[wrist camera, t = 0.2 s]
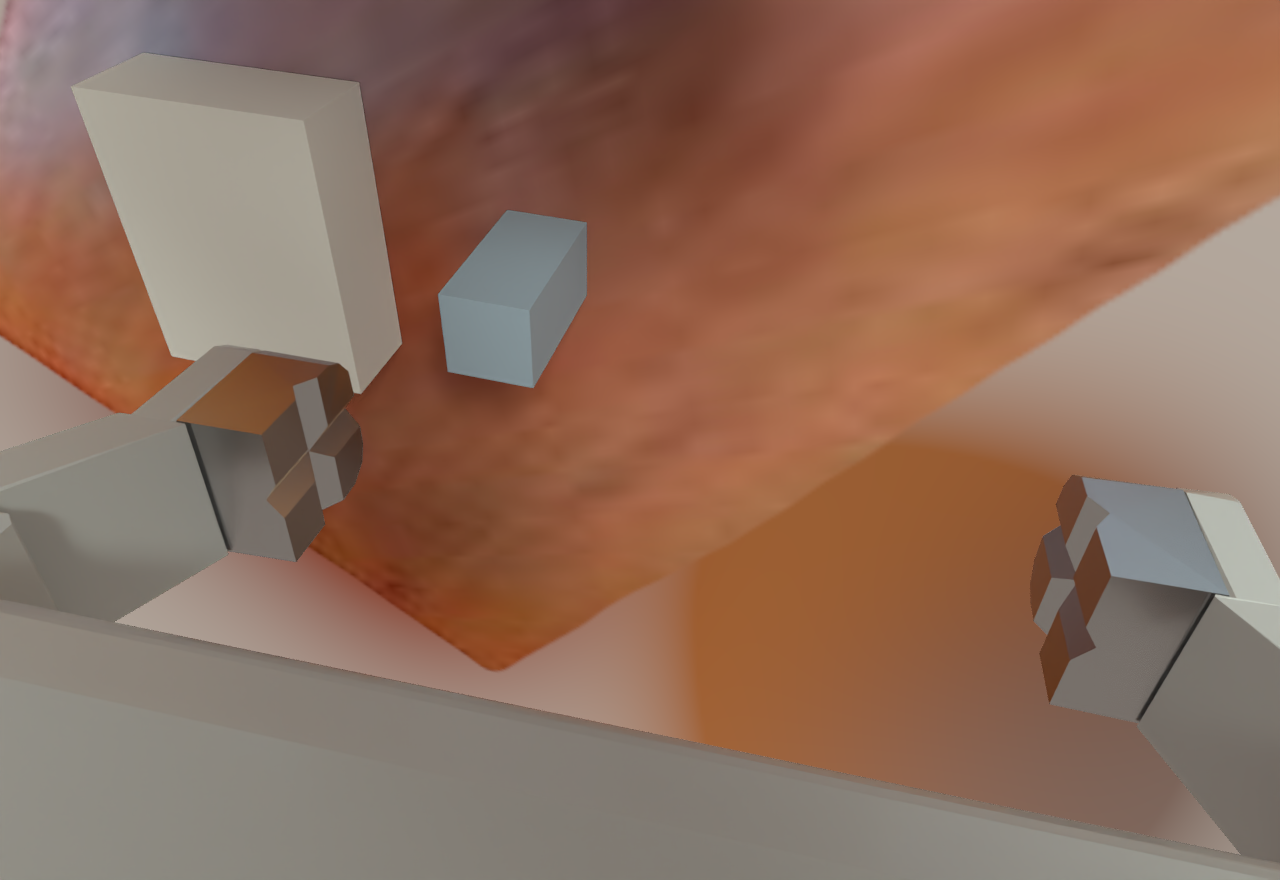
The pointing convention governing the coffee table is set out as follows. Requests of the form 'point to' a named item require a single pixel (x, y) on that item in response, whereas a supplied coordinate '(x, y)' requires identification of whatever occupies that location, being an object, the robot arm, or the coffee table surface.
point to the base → (248, 207)
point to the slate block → (514, 298)
